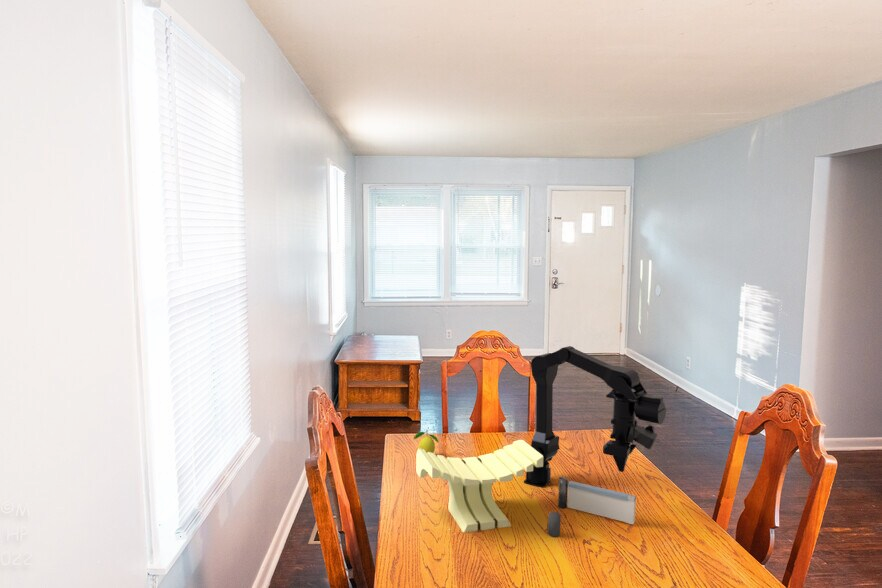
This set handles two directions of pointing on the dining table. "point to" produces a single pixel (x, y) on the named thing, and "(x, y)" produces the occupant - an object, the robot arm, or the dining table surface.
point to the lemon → (426, 442)
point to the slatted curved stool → (478, 481)
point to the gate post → (563, 492)
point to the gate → (602, 502)
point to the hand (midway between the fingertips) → (621, 471)
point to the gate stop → (554, 524)
